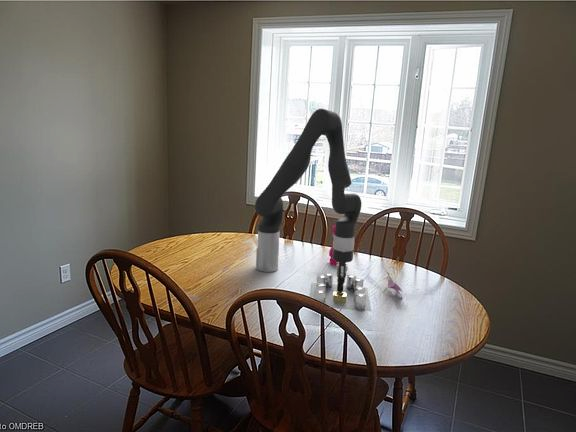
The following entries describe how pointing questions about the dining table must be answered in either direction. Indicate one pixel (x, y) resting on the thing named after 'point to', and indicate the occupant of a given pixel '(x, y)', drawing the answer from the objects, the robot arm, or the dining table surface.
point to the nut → (339, 297)
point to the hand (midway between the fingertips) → (339, 290)
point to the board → (346, 305)
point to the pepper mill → (332, 249)
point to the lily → (392, 284)
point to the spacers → (351, 284)
